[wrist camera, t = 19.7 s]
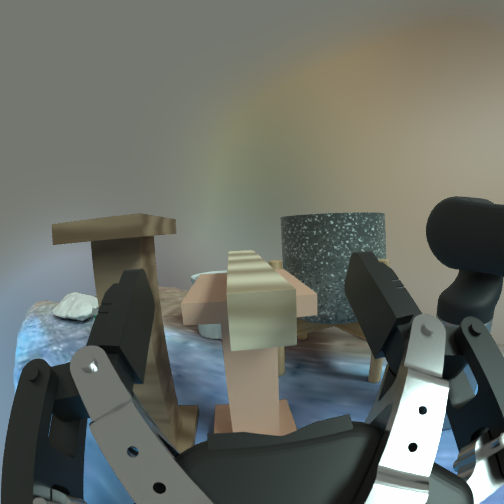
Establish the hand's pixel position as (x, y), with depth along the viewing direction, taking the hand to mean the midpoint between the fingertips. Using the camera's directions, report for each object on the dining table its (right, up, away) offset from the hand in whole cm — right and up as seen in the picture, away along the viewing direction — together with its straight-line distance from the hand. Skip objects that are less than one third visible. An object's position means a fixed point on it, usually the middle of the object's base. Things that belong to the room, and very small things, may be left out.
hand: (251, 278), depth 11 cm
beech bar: (0, -3, +16) cm, 16 cm away
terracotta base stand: (+1, -26, +23) cm, 35 cm away
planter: (+19, -23, +49) cm, 57 cm away
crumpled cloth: (-69, -25, +85) cm, 112 cm away
